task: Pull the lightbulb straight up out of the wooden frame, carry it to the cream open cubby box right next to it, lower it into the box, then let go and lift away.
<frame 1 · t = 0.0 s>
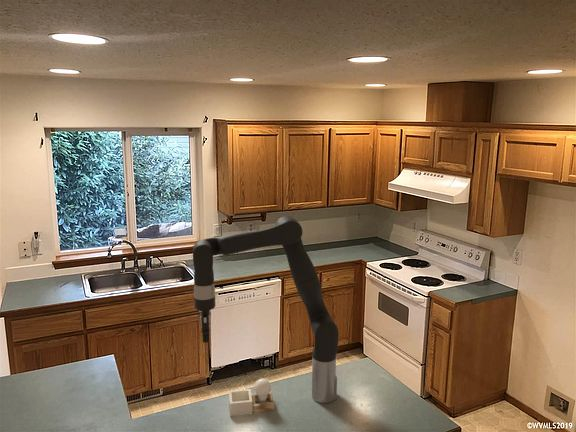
hand: (206, 336, 169), 29 cm above the countertop, tool pointing down, fingers open, 8 cm apart
lightbulb: (262, 406, 176), resting in wooden frame
cream open cubby box: (240, 407, 175), on the countertop
wooden frame: (262, 405, 176), on the countertop
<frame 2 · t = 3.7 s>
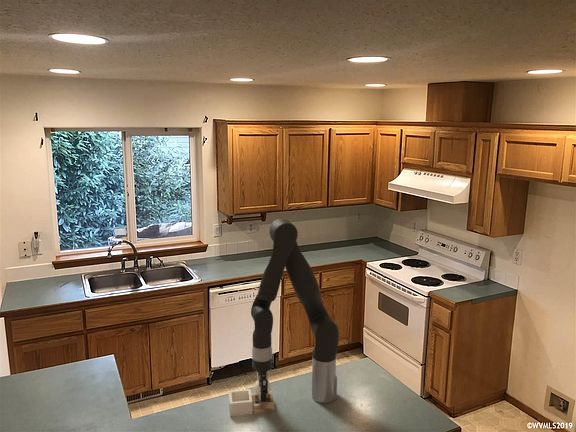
hand: (262, 395, 175), 4 cm above the countertop, tool pointing down, fingers closed on lightbulb, 6 cm apart
lightbulb: (262, 406, 176), resting in wooden frame, touching gripper
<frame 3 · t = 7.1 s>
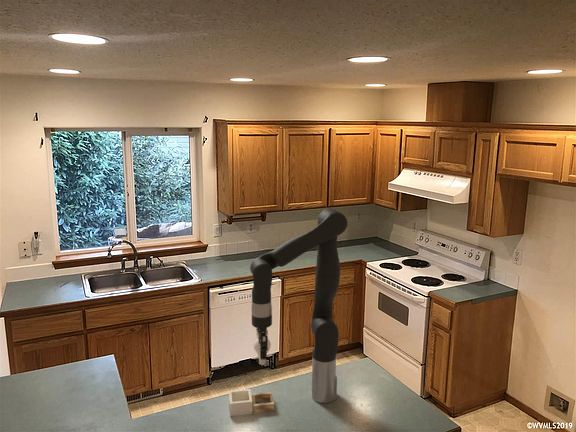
hand: (262, 354, 172), 21 cm above the countertop, tool pointing down, fingers closed on lightbulb, 6 cm apart
lightbulb: (262, 365, 173), point 17 cm above the countertop, touching gripper
when the fingers open (7 cm above the countertop, at t = 10.7 s): lightbulb drops 1 cm, resting on cream open cubby box.
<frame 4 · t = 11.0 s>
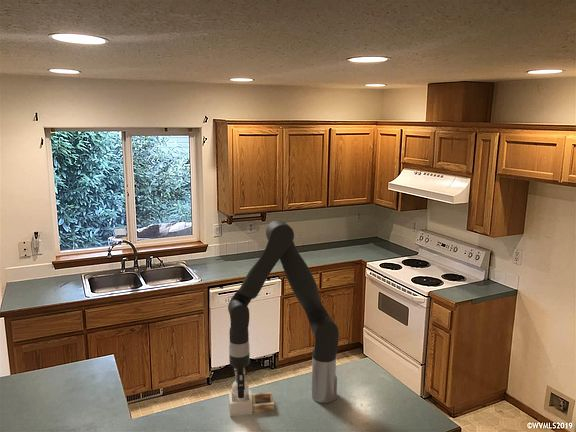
hand: (240, 391, 173), 7 cm above the countertop, tool pointing down, fingers open, 8 cm apart
lightbulb: (240, 407, 174), point 1 cm above the countertop, touching cream open cubby box
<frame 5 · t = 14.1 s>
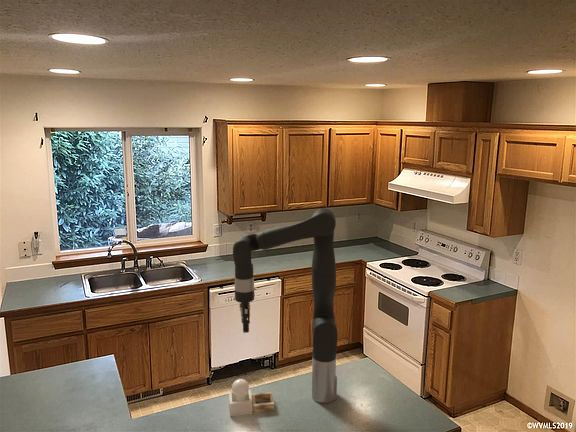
hand: (245, 327, 179), 28 cm above the countertop, tool pointing down, fingers open, 8 cm apart
nothing on the countertop moved.
at the end: lightbulb 0.6 cm off-centre on the cream open cubby box, point 0.8 cm above the cream open cubby box's base; lightbulb tilted 0°; the gripper is holding nothing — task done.
